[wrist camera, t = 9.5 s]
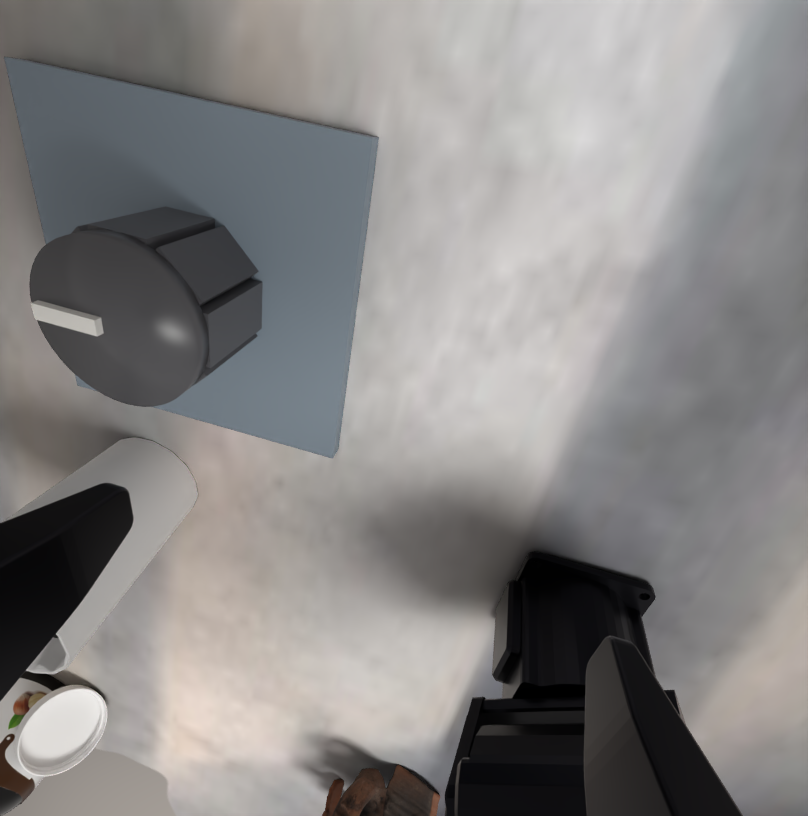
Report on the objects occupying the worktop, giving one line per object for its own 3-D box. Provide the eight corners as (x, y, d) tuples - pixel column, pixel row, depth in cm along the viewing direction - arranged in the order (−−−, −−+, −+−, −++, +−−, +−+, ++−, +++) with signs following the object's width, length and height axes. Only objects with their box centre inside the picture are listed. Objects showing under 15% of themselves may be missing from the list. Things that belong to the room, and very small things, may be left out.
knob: (263, 230, 18) (184, 262, 14) (260, 369, 22) (196, 429, 18) (118, 194, 19) (0, 215, 15) (137, 335, 22) (44, 385, 18)
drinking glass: (98, 413, 27) (-98, 546, 18) (208, 456, 27) (61, 610, 18) (104, 495, 30) (-57, 638, 22) (201, 534, 30) (76, 692, 22)
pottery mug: (462, 807, 43) (414, 919, 39) (384, 745, 49) (336, 836, 45) (410, 778, 35) (345, 913, 31) (326, 709, 41) (263, 815, 37)
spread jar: (-5, 674, 49) (-137, 811, 40) (14, 634, 43) (-134, 782, 34) (97, 732, 51) (-4, 876, 42) (129, 701, 45) (20, 860, 36)
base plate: (378, 137, 17) (341, 140, 13) (338, 449, 24) (307, 501, 21) (23, 58, 18) (-92, 44, 15) (89, 378, 25) (22, 417, 22)
